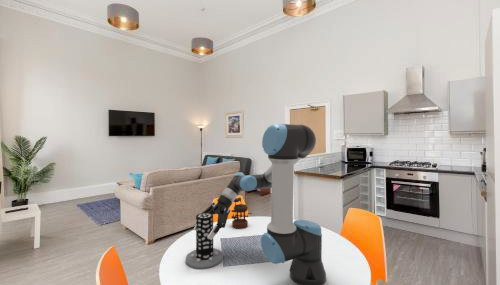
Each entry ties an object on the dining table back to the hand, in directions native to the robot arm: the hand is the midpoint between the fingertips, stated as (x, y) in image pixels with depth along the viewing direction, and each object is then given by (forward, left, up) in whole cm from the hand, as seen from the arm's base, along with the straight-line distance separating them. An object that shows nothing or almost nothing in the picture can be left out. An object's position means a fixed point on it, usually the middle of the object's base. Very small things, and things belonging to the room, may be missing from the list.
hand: (202, 234), depth 116 cm
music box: (+23, -42, -13) cm, 50 cm away
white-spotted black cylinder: (0, -1, -11) cm, 11 cm away
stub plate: (0, -1, -13) cm, 13 cm away
